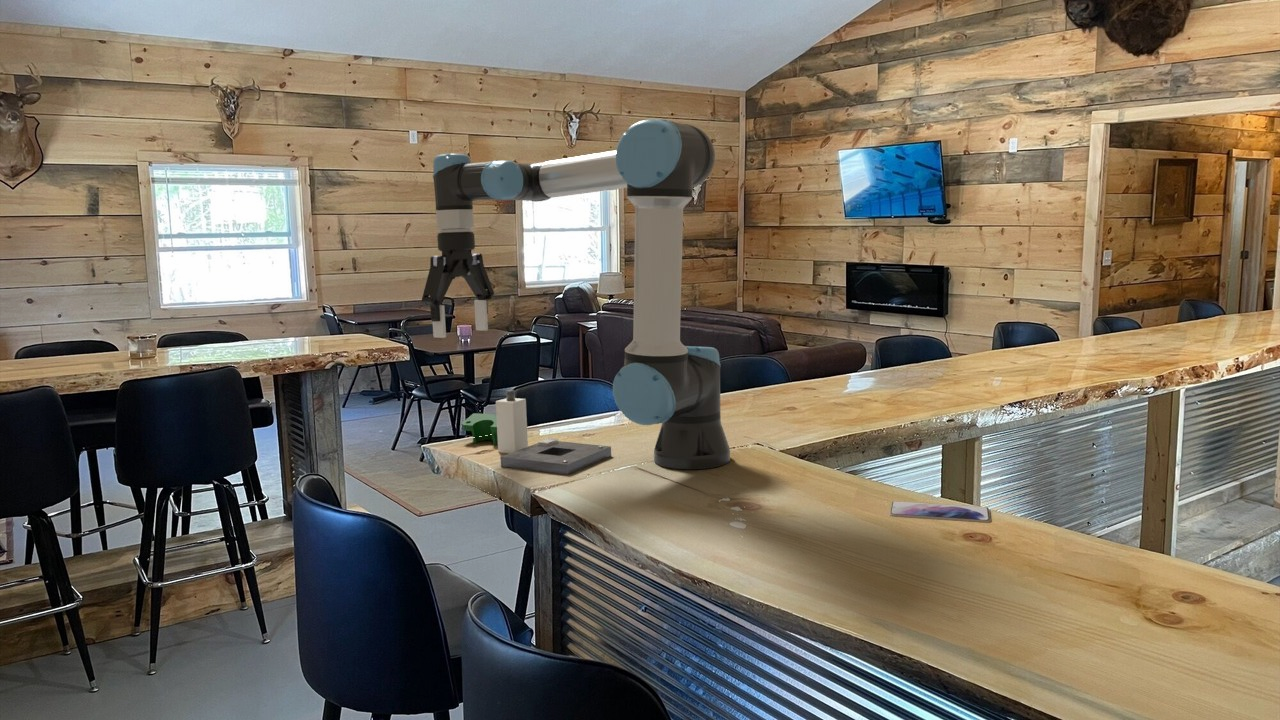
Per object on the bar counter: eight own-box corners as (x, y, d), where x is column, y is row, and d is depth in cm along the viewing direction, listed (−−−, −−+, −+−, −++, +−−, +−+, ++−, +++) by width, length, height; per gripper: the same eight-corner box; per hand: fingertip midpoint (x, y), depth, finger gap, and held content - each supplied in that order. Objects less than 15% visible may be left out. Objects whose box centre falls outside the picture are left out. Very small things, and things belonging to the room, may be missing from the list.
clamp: (474, 461, 207) (454, 427, 206) (488, 449, 212) (467, 415, 211) (514, 445, 201) (493, 410, 200) (526, 433, 206) (506, 398, 205)
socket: (611, 456, 190) (610, 443, 190) (567, 474, 176) (567, 460, 176) (547, 449, 198) (546, 436, 197) (500, 466, 184) (500, 453, 184)
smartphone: (991, 520, 141) (889, 513, 145) (991, 526, 141) (889, 519, 146) (989, 506, 147) (891, 500, 152) (988, 511, 148) (891, 505, 152)
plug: (528, 449, 198) (525, 389, 196) (515, 454, 194) (512, 393, 192) (511, 447, 200) (508, 388, 198) (498, 452, 196) (495, 391, 195)
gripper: (479, 231, 203) (484, 327, 206) (399, 232, 181) (406, 340, 184) (506, 230, 199) (511, 327, 202) (428, 231, 178) (435, 341, 181)
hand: (461, 334), depth 193 cm, fingers open, 13 cm apart
